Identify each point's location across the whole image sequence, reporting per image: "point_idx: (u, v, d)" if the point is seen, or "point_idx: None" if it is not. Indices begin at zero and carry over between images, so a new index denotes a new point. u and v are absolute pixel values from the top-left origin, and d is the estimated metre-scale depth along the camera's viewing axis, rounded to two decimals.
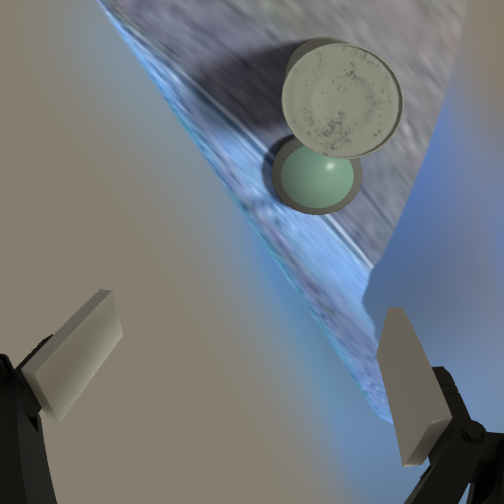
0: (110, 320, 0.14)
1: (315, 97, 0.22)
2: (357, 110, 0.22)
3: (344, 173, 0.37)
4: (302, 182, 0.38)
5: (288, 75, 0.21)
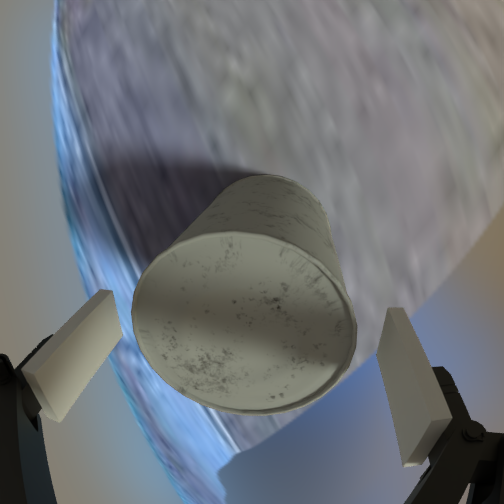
0: (110, 320, 0.14)
1: (193, 313, 0.13)
2: (257, 358, 0.13)
3: None
4: None
5: (157, 260, 0.12)
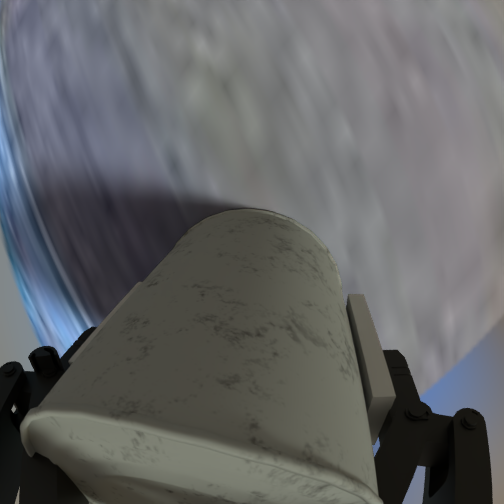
0: None
1: (110, 484, 0.06)
2: None
3: None
4: None
5: (29, 418, 0.05)
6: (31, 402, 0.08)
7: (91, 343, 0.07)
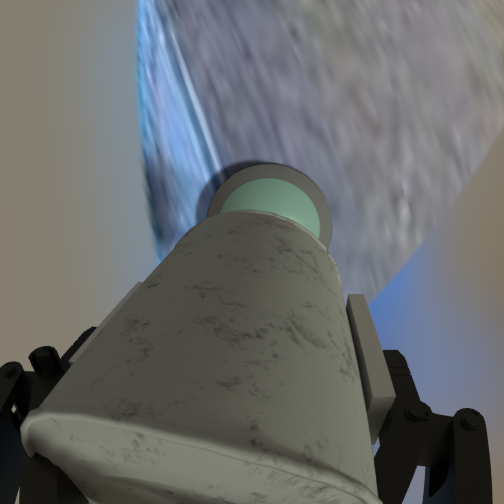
0: None
1: (110, 484, 0.06)
2: None
3: None
4: None
5: (30, 420, 0.05)
6: (31, 402, 0.08)
7: (91, 344, 0.07)
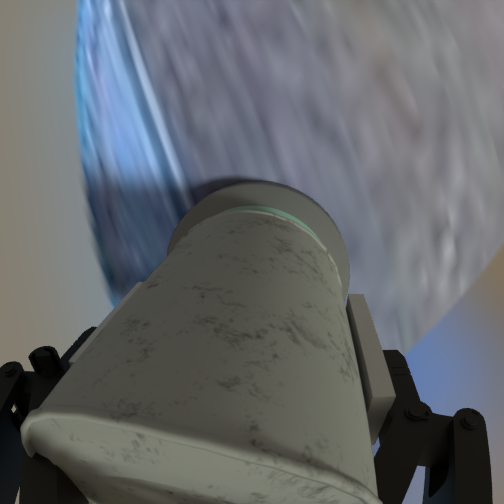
0: None
1: (111, 484, 0.06)
2: None
3: None
4: None
5: (30, 420, 0.05)
6: (31, 402, 0.08)
7: (91, 345, 0.07)
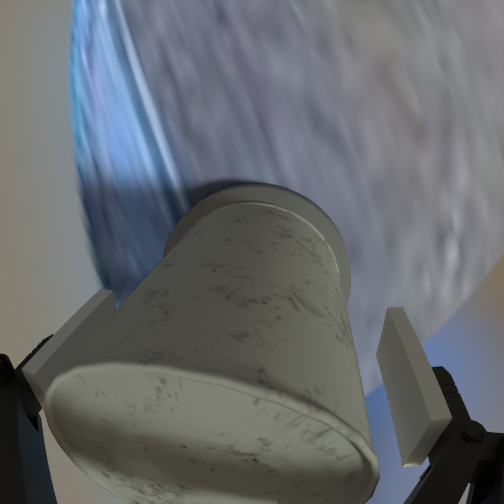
0: None
1: (127, 446, 0.07)
2: (228, 497, 0.07)
3: None
4: None
5: (57, 380, 0.06)
6: None
7: (113, 315, 0.08)
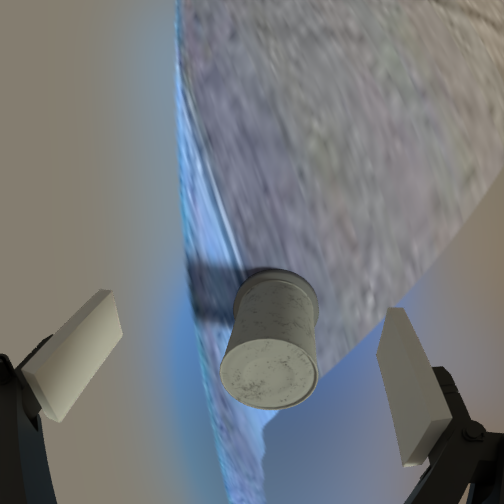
0: (110, 320, 0.14)
1: (249, 366, 0.29)
2: (275, 384, 0.30)
3: None
4: None
5: (236, 346, 0.29)
6: None
7: (243, 329, 0.31)
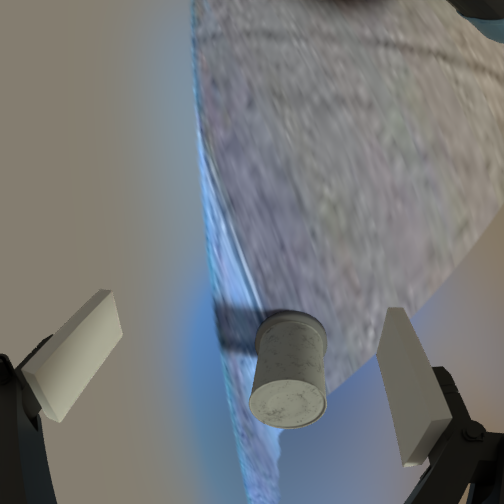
0: (110, 320, 0.14)
1: (272, 398, 0.36)
2: (293, 410, 0.37)
3: None
4: None
5: (262, 385, 0.35)
6: None
7: (267, 369, 0.38)
